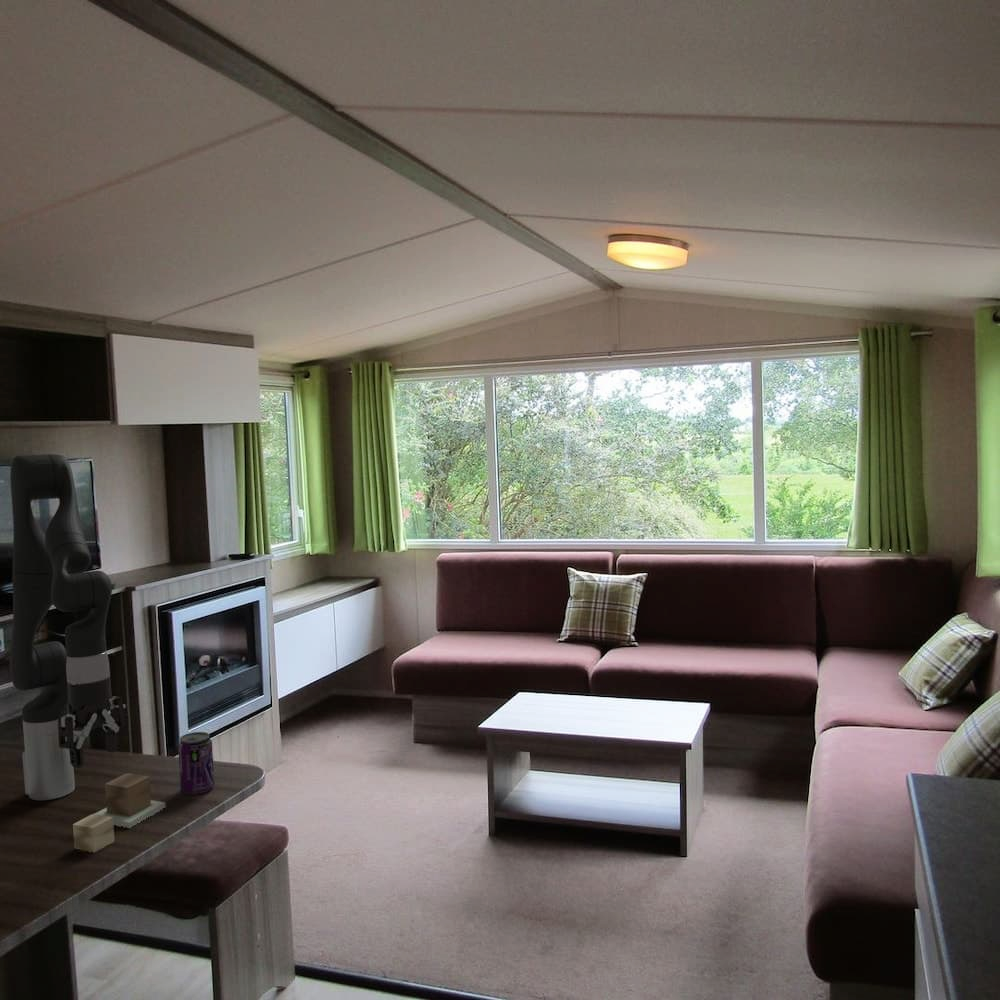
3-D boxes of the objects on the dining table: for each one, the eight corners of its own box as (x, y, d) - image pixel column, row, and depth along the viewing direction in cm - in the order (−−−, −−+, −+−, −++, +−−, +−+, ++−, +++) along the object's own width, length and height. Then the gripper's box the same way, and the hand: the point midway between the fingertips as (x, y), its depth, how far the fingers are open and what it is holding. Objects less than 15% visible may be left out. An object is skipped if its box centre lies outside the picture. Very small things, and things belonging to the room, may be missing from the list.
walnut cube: (106, 812, 193) (104, 783, 193) (128, 800, 199) (126, 773, 198) (129, 816, 191) (127, 787, 191) (150, 804, 197) (149, 776, 196)
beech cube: (74, 849, 180) (72, 824, 180) (94, 838, 185) (93, 813, 184) (94, 853, 178) (92, 828, 178) (114, 842, 183) (112, 817, 182)
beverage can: (204, 797, 203) (201, 743, 201) (174, 795, 204) (171, 741, 203) (220, 784, 210) (217, 731, 208) (191, 782, 211) (188, 730, 210)
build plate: (92, 820, 192) (91, 814, 192) (128, 801, 202) (128, 795, 201) (129, 828, 189) (129, 822, 188) (165, 808, 198) (165, 802, 198)
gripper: (101, 665, 187) (107, 744, 189) (43, 685, 174) (50, 770, 176) (131, 667, 185) (137, 748, 186) (74, 688, 172) (81, 774, 173)
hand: (95, 759), depth 181 cm, fingers open, 8 cm apart
